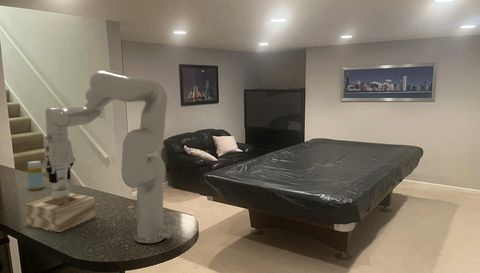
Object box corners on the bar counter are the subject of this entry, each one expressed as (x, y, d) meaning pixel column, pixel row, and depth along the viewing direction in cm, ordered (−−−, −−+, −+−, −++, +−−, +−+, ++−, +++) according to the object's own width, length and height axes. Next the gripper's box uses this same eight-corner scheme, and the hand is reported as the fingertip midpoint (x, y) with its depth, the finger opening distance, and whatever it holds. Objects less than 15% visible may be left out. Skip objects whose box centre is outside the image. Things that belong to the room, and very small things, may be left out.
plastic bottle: (53, 198, 143) (50, 152, 140) (71, 197, 146) (68, 151, 143) (50, 203, 137) (47, 155, 134) (69, 201, 140) (66, 154, 137)
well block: (95, 217, 148) (94, 197, 146) (59, 233, 131) (57, 211, 130) (65, 210, 154) (64, 191, 153) (27, 225, 138) (25, 203, 137)
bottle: (30, 187, 188) (28, 160, 186) (44, 186, 190) (43, 160, 188) (27, 191, 182) (25, 163, 180) (41, 190, 184) (40, 163, 182)
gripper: (44, 141, 128) (47, 187, 131) (81, 135, 144) (83, 176, 147) (31, 139, 131) (34, 184, 134) (68, 134, 147) (71, 174, 150)
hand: (60, 180), depth 140 cm, fingers closed on plastic bottle, 6 cm apart
